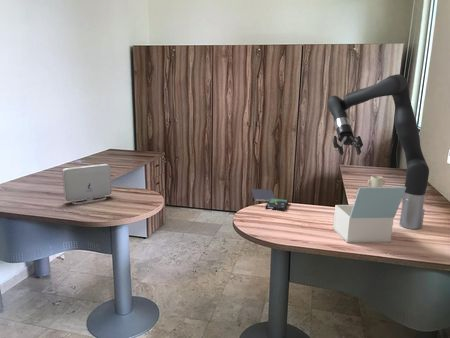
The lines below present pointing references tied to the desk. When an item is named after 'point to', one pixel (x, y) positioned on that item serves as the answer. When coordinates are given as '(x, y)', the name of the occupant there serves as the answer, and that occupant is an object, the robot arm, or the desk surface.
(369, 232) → the carton
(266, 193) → the notebook
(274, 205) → the disk drive
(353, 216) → the lid flap
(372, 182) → the character mug
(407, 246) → the desk surface
